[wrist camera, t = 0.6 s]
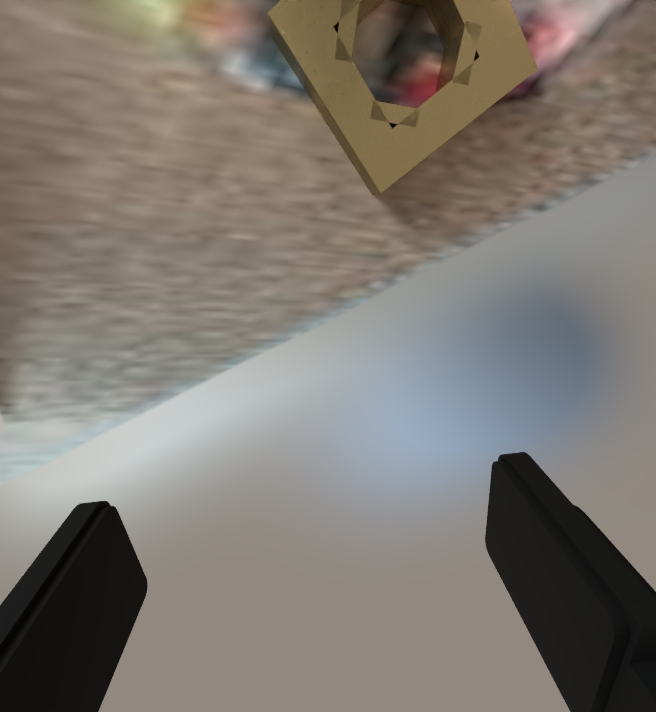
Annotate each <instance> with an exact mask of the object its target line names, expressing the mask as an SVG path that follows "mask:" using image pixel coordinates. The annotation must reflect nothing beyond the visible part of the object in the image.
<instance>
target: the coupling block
mask: <svg viewBox="0 0 656 712" xmlns="http://www.w3.org/2000/svg"><path fill="white" fill-rule="evenodd" d="M383 1H384V0H280V1H279V2H278V3H277V4H276V5H275V6H274V7H273V8H272V9H271V10H270V11H269V12H268V18H269V23H270V28H271V33H272V38H273V40H274V41H275V43H276V44H277V46H278V47H279V49H280V51H281V52H282V54H283V55H284V57H285V58H286V60H287V62H288V63H289V65H290V66H291V68H292V69H293V71H294V73H295V74H296V76H297V77H298V79H299V80H300V82H301V83H302V85H303V87H304V88H305V90H306V91H307V93H308V94H309V96H310V98H311V99H312V101H313V102H314V104H315V105H316V107H317V109H318V110H319V112H320V113H321V115H322V116H323V118H324V120H325V121H326V123H327V124H328V126H329V127H330V129H331V131H332V132H333V134H334V135H335V137H336V138H337V140H338V142H339V143H340V145H341V146H342V148H343V149H344V151H345V152H346V154H347V156H348V157H349V159H350V160H351V162H352V163H353V165H354V167H355V168H356V170H357V171H358V173H359V174H360V176H361V178H362V179H363V181H364V182H365V184H366V185H367V187H368V189H369V190H370V192H371V193H372V195H374V194H379V193H382V192H383V191H384V190H386V189H387V188H388V187H389V186H391V185H392V184H393V183H394V182H396V181H397V180H398V179H399V178H401V177H402V176H403V175H404V174H406V173H407V172H408V171H410V170H411V169H412V168H413V167H415V166H416V165H417V164H418V163H420V162H421V161H422V160H423V159H425V158H426V157H427V156H428V155H430V154H431V153H432V152H434V151H435V150H436V149H437V148H439V147H440V146H441V145H442V144H444V143H445V142H446V141H447V140H449V139H450V138H451V137H452V136H454V135H455V134H456V133H458V132H459V131H460V130H461V129H463V128H464V127H465V126H466V125H468V124H469V123H470V122H471V121H473V120H474V119H475V118H477V117H478V116H479V115H480V114H482V113H483V112H484V111H485V110H487V109H488V108H489V107H490V106H492V105H493V104H494V103H495V102H497V101H498V100H499V99H501V98H502V97H503V96H504V95H506V94H507V93H508V92H509V91H511V90H512V89H513V88H514V87H516V86H517V85H518V84H519V83H521V82H522V81H523V80H525V79H526V78H527V77H528V76H530V75H531V74H532V73H533V72H535V71H536V70H537V69H538V68H537V66H536V64H535V61H534V59H533V56H532V54H531V51H530V49H529V47H528V44H527V42H526V39H525V37H524V35H523V32H522V30H521V27H520V25H519V23H518V20H517V18H516V15H515V13H514V10H513V8H512V6H511V3H510V1H509V0H393V1H398V2H402V3H407V4H411V5H416V6H420V7H425V8H426V10H427V12H428V14H429V16H430V18H431V20H432V22H433V25H434V27H435V29H436V31H437V33H438V35H439V37H440V39H441V41H442V43H443V45H444V47H445V51H444V56H443V61H442V66H441V70H440V75H439V80H438V85H437V89H436V93H435V94H434V95H433V96H432V97H431V98H429V99H428V100H427V101H426V102H424V103H423V104H422V105H421V106H420V107H418V108H411V107H406V106H401V105H395V104H390V103H385V102H379V101H376V100H375V98H374V96H373V95H372V93H371V91H370V89H369V88H368V86H367V84H366V82H365V81H364V79H363V77H362V76H361V74H360V72H359V70H358V69H357V67H356V65H355V63H354V62H353V60H352V53H353V45H354V38H355V31H356V25H358V24H359V23H360V22H361V21H362V20H363V19H364V18H365V17H366V16H367V15H369V14H370V13H371V12H372V11H373V10H374V9H375V8H376V7H377V6H379V5H380V4H381V3H382V2H383Z"/></svg>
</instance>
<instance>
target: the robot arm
mask: <svg viewBox="0 0 656 712" xmlns="http://www.w3.org/2000/svg"><path fill="white" fill-rule="evenodd" d="M485 542H486V548H487V551H488V554H489V556H490V558H491V560H492V562H493V563H494V565H495V567H496V569H497V571H498V573H499V575H500V577H501V579H502V581H503V583H504V584H505V587H506V589H507V590H508V592H509V594H510V596H511V598H512V600H513V602H514V604H515V606H516V608H517V610H518V612H519V614H520V616H521V617H522V619H523V621H524V623H525V625H526V627H527V629H528V631H529V633H530V635H531V637H532V639H533V641H534V643H535V644H536V646H537V648H538V650H539V652H540V654H541V656H542V658H543V660H544V662H545V664H546V666H547V668H548V669H549V671H550V673H551V675H552V677H553V679H554V681H555V683H556V685H557V687H558V689H559V691H560V693H561V695H562V696H563V698H564V700H565V702H566V704H567V706H568V708H569V710H570V712H656V592H655V591H654V590H653V588H652V587H651V586H650V585H649V584H648V583H647V582H646V580H645V579H644V578H643V577H642V576H641V575H640V574H639V573H638V572H637V571H636V569H635V568H634V567H633V566H632V565H631V564H630V563H629V562H628V560H627V559H626V558H625V557H624V556H623V555H622V554H621V553H620V552H619V550H618V549H617V548H616V547H615V546H614V545H613V544H612V543H611V542H610V540H608V538H607V537H606V536H605V535H604V534H603V533H602V532H601V531H600V529H599V528H598V527H597V526H596V525H595V524H594V523H593V522H592V521H591V519H590V518H589V517H588V516H587V515H586V514H585V513H584V512H583V511H582V510H581V509H580V508H579V507H577V506H575V505H573V504H572V503H571V502H570V501H569V500H568V499H567V498H566V496H564V494H563V493H562V492H561V491H560V490H559V488H558V487H557V486H556V485H555V484H554V483H553V482H552V481H551V479H550V478H549V477H548V476H547V475H546V474H545V473H544V471H543V470H542V469H541V468H540V467H539V466H538V465H537V464H536V462H535V461H534V460H533V459H532V458H531V457H530V456H529V455H528V454H527V453H525V452H520V453H512V454H503V455H500V456H499V458H498V461H496V462H493V464H492V472H491V483H490V493H489V504H488V515H487V526H486V537H485ZM146 593H147V579H146V576H145V574H144V572H143V570H142V567H141V565H140V562H139V560H138V558H137V556H136V553H135V551H134V548H133V546H132V544H131V541H130V539H129V537H128V534H127V532H126V530H125V527H124V525H123V523H122V520H121V518H120V516H119V513H118V511H117V509H116V508H115V507H114V506H110V504H109V503H108V502H107V501H99V502H91V503H83V504H79V505H77V506H76V507H75V508H74V509H73V511H72V512H71V513H70V515H69V516H68V517H67V519H66V520H65V521H64V522H63V524H62V525H61V527H60V528H59V529H58V530H57V532H56V533H55V534H54V536H53V537H52V538H51V540H50V541H49V542H48V544H47V545H46V546H45V547H44V549H43V550H42V551H41V553H40V554H39V555H38V557H37V558H36V559H35V561H34V562H33V563H32V565H31V566H30V567H29V569H28V570H27V571H26V572H25V574H24V575H23V576H22V578H21V579H20V580H19V582H18V583H17V584H16V585H15V587H14V588H13V589H12V591H11V592H10V594H9V595H8V596H7V597H6V599H5V600H4V601H3V603H2V604H1V605H0V712H98V711H99V708H100V706H101V704H102V701H103V699H104V696H105V694H106V691H107V689H108V687H109V684H110V682H111V679H112V677H113V674H114V672H115V669H116V667H117V664H118V662H119V660H120V657H121V655H122V652H123V650H124V648H125V645H126V642H127V640H128V638H129V635H130V633H131V631H132V628H133V626H134V623H135V621H136V618H137V616H138V613H139V611H140V608H141V606H142V604H143V601H144V599H145V596H146Z"/></svg>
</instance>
